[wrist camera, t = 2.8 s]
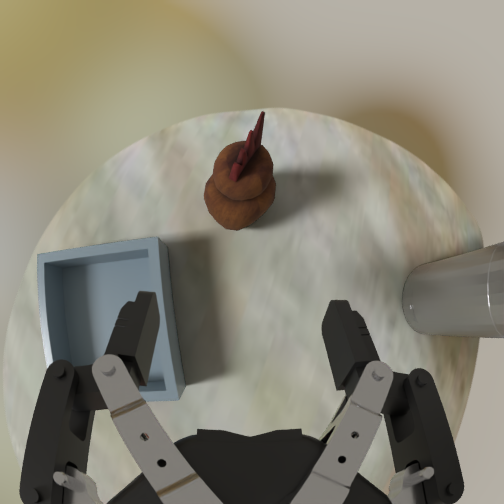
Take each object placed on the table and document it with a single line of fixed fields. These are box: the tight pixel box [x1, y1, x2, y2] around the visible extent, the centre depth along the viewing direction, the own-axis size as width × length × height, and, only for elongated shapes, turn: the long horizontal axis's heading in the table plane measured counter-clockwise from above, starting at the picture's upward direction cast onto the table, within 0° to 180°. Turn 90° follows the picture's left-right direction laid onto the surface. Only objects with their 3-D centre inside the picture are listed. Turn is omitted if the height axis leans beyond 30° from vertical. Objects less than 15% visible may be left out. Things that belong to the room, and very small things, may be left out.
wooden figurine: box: [204, 111, 276, 230], centre depth 24 cm, size 7×6×15 cm
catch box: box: [37, 237, 186, 401], centre depth 25 cm, size 14×15×5 cm
